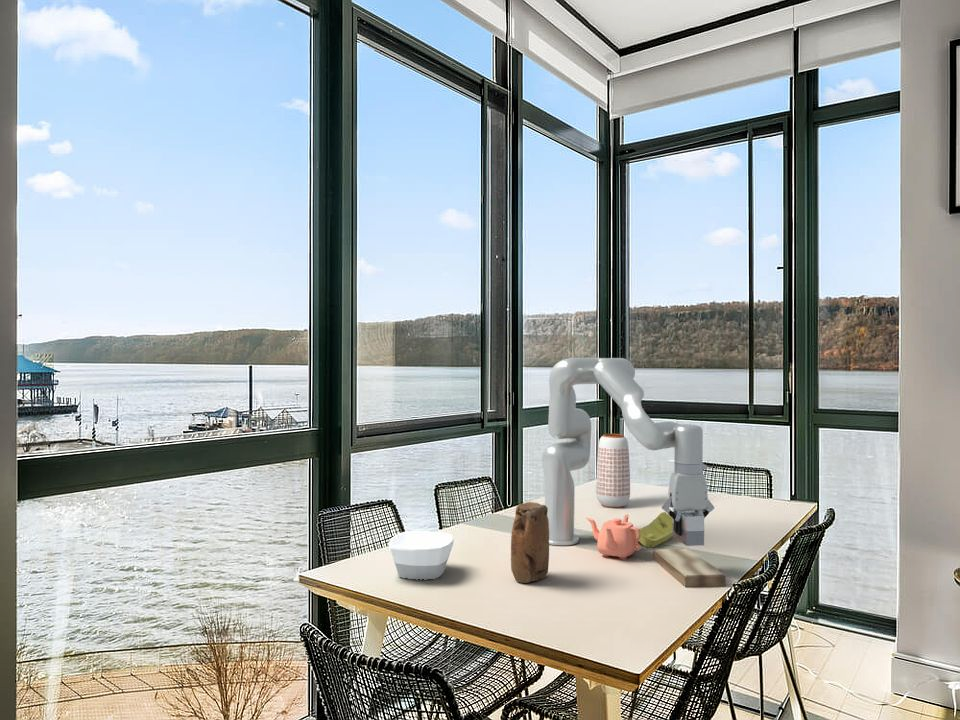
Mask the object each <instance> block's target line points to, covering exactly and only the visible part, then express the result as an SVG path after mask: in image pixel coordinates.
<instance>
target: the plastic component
mask: <svg viewBox="0 0 960 720" xmlns="http://www.w3.org/2000/svg"><path fill="white" fill-rule="evenodd" d="M638 529H639V530H640V532H641V537H640V539H639V541H638V543H639V544H640V545H641V544H642V546H644V547H645V548H654V547H656V546H659V545H661V544H662V543H664V542H667V541H668V540H670V538H671V537H673V518H672V517H671V516H670V515H669V514H668V513H667V512H665V511H663V512H661V513H659V515H657V516H656V518H655V519H653V520H652V521H651V522H649V524H648V525H645V526H643V527H640V528H638ZM635 533H636V539H637V536H638V533H637V531H635Z"/></svg>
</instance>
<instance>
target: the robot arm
mask: <svg viewBox="0 0 960 720" xmlns="http://www.w3.org/2000/svg"><path fill="white" fill-rule="evenodd" d="M635 369H636V368H635V366H634V365H633V364H632V362H631V361H630V360H628V359H626V358H623V357H609V358H608V357H568V358H564V359H562V360H559V361H558V362H556V363H555V364H554V365H553V366H552V368H551V370H550V373H549V378H548V380H549V381H548V383H549V384H548V385H549V402H548V423H547V425H548V426H547V428H548V433H549V434H550V436H551V437H552V438H554V439H557V440H565V441H562V442H557V443H552V444H550V445H549V446H547V447H546V448H545V449H544V451H543V453H542V456H541V463H542V468H543V473H544V505H545V506H547V508H548V512H547V517H548V520H549V545H550V546H551V545H553V546H572V545H576V544H578V543H579V542H580V538H579V536H578V535H576V534H575V493H576V492H575V482H574V478H573V476H572V473H571V472H572V471H576V470H581V469H583V468H584V467H586V466H587V465H588V463H589V461H590V457H591V446H592V445H591V444H592V443H591V442H592V421H591V418H590V415H589V413H588V412H586V411H585V410H584V409H582V408H577V407H576V406H577V405H576V404H577V396H576V390H575V389H574V386H575V385H593V384H594V385H600V386H601V387H602V388H603V390H605V392H606V393H607V394H608V395H609V397H611V398H612V400H613V401H614V402H615V403H616V404H617V406H618V407H620V410H621V413H622V414H621V415H622V419H623V422H624V424H625V426H626V428H627V430H628V431H629V432H630V433H631V434H632V436H634V438H635V439H636V441H638V443H640V444H641V446H643V447H644V448H646V449H648V450H651V451H659V450H665V449H671V448H674V466H673V467H674V469H673V470H674V472H671V474H670V479H669V483H668V493H667V494H668V495H667V500H666V501H665V502H664V504H663V505H662V507H661V509H662V510H663V512H666V513H667V514H668V515H670V516H671V517H672V518H673V519H674V532H675V533H676V534H677V535H679V536H681V521H680V517H681V513H682V511H692V510H694V511H696V512H698V513H699V514H701V515H703V516H704V519H705V518H706V517H707V516H708V515H709V514H710V513H711V512H712V511H713V510H715V506H714V504H713V503H712V501H710V499H709V497H708V495H709V494H708V485H707V479H706V475H705V474H704V471H705V470H708V465H707V464H704V462H703V461H704V460H703V459H704V458H703V450H704V447H703V443H704V441H703V438H704V437H703V435H704V434H703V433H704V432H703V428H702V427H701V426H700V425H697V424H688V423H687V424H686V423H685V424H683V423H677V422H674V421H673V422H672V421H663V422H661V421H660V422H655V421H654V420H652V419H651V417H650V416H649V415H648V414H647V413H646V411H645V410H644V408H643V406H642V400H643V399H644V397H645V391H644V389H643V388H642V387H641V386H640V385H639V384H638V383H637V382H636V380H635V379H634V378H635V377H636V376H635V375H636V370H635ZM671 508H672V509H673V508H674V511H673V510H671Z"/></svg>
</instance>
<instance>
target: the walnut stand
mask: <svg viewBox="0 0 960 720" xmlns="http://www.w3.org/2000/svg"><path fill="white" fill-rule="evenodd" d="M652 556H653V557H652V558H653V559H652V560H653V561H654V562H655V563H657V564H658V565H659V566H660V567H661V568H662V569H664V570H665V571H666V572H667V573H668V574H669V575H670V576H672V577H673V579H675V580H676V581H677V582H679V583H680V584H681V585H682V586H683V587H684V586H685V588H697V587H699V588H700V587H701V588H703V586H706V588H707V587H708V588H709V587H726V582H727V581H726V577H727V576H726V575H725V574H724V573H723V572H721V571H720V570H718V569H717V568H716V567H714V566H713V565H711V563H709V562H707V561H706V560H705V559H704V558H702V557H701V556H699V555H698V554H697V553H695V552H694V551H692V550H691V549H690V548H672V549H670V548H666V549H663V548H661V549H654V550H653V554H652Z"/></svg>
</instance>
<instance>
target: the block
mask: <svg viewBox="0 0 960 720" xmlns="http://www.w3.org/2000/svg"><path fill="white" fill-rule="evenodd" d="M547 512H548V508H547V506H545V504H541V503H538V502H533V501H528V502H525V503H519V504H518V505H517V506H516V508H515V516H514V519H513V524H512V528H511V536H510V538H511V539H510V569H511V573H512V574H513V577H514V580H515V582H517V583H518V582H519V583H523V584H525V583H532V582H536V581H540V580H543V579H544V578H546V576H548V573H549V566H550V565H549V563H550V544H549V520H548V517H547Z"/></svg>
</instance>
